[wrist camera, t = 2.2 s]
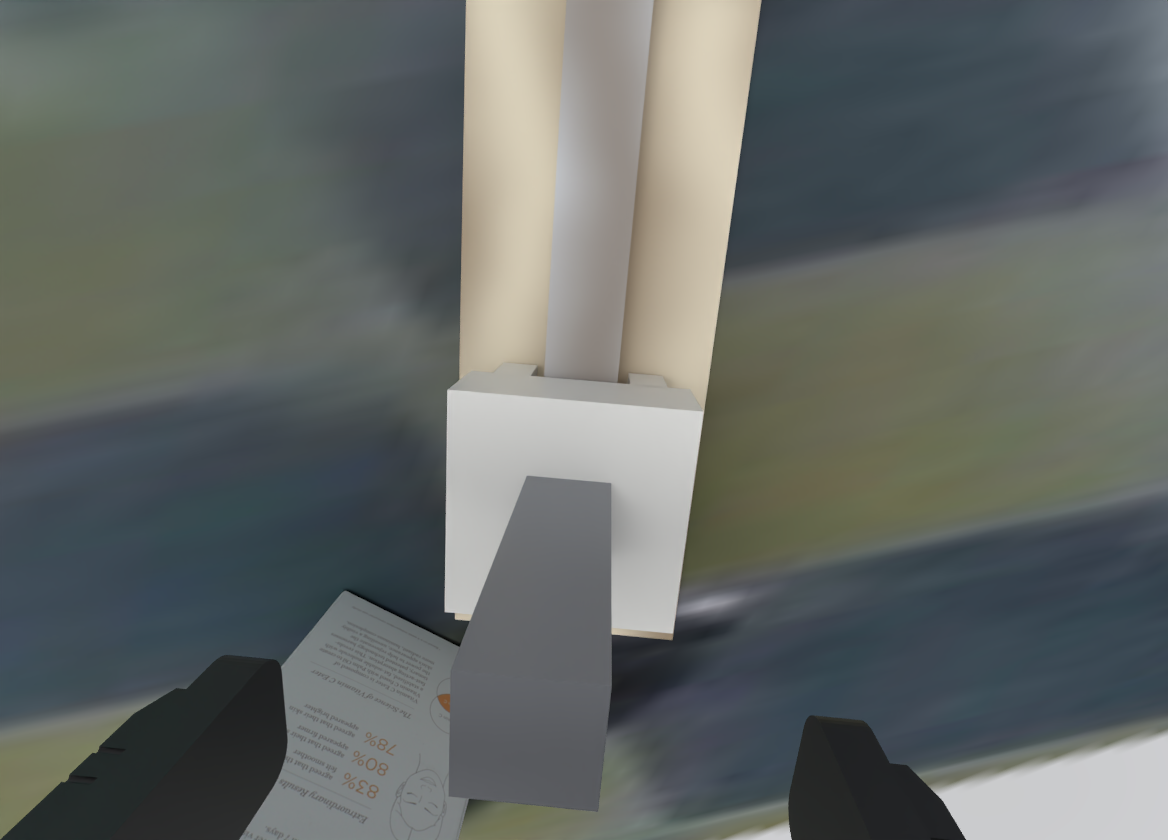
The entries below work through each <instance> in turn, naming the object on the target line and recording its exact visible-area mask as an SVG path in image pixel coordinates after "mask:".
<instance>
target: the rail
mask: <svg viewBox="0 0 1168 840" xmlns="http://www.w3.org/2000/svg"><path fill="white" fill-rule="evenodd" d="M760 6H761V0H466V37H465V92H464V147H463V202H462V256H461V311H460V366H459V380H460V379H462V378H463V377H464V376H465V375H467V374H468V373H469V372H471V371H481V372H494V371H495V370H496V369H497V368H499V367H500V366H501V365H502V364H503V363H504V362H505V363H517V364H529V365H538V370H537V376H540V377H551V378H563V379H575V380H587V381H598V382H610V383H622V384H627V383H628V373H635V374H647V375H658V376H663V378H664V380H665V382H666V384H667V387H669V388H681V389H690V390H691V392H692V394H693V395H694V397H695V398H696V400H697V402H698V403H699V405H700V407H701V408H702V410H703V411H704V409H705V402H706V395H707V387H708V380H709V373H710V366H711V359H712V351H713V344H714V337H715V330H716V323H717V316H718V308H719V301H720V294H721V287H722V280H723V272H724V265H725V258H726V251H727V244H728V236H729V229H730V222H731V215H732V208H733V200H734V193H735V186H736V179H737V172H738V165H739V157H740V150H741V143H742V136H743V129H744V121H745V114H746V107H747V100H748V93H749V85H750V78H751V71H752V64H753V57H754V49H755V42H756V35H757V28H758V21H759V14H760ZM703 416H704V413H703ZM702 423H703V420H702ZM701 431H702V427H701ZM700 438H701V435H700ZM699 445H700V442H699ZM698 452H699V449H698ZM697 459H698V456H697ZM696 467H697V463H696ZM695 474H696V471H695ZM694 481H695V478H694ZM693 488H694V485H693ZM692 495H693V492H692ZM691 502H692V499H691ZM690 510H691V507H690ZM689 517H690V514H689ZM688 524H689V521H688ZM687 531H688V528H687ZM686 538H687V535H686ZM685 546H686V543H685ZM684 553H685V550H684ZM683 560H684V557H683ZM682 567H683V564H682ZM681 574H682V571H681ZM680 582H681V579H680ZM679 589H680V586H679ZM678 596H679V593H678ZM677 603H678V600H677ZM676 610H677V607H676ZM471 617H472V615H471V614H461V613H455V619H457V620H467V621H470V619H471ZM675 618H676V615H675ZM674 625H675V622H674ZM673 632H674V629H673ZM612 634H614V635H625V636H635V637H646V638H656V639H667V640H672V639H673V634H671V633H661V632H650V631H640V630H629V629H619V628H612Z"/></svg>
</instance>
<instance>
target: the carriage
mask: <svg viewBox="0 0 1168 840" xmlns="http://www.w3.org/2000/svg"><path fill="white" fill-rule="evenodd" d="M537 370H538V365H529V364H517V363H505V362H504V363H503V364H502V365H501V366H500V367H499V368H497V369H496V370H495V371H494V372H481V371H471V372H469V373H468V374H467V375H465V376H464V377H463V378H462V379H460V380H459V381H458V382H457V383H455V384H454V385H453V386H451V387H450V388H449V389H448V390H447V466H446V545H445V612H450V613H461V614H471V615H472V617H471V619H470V622H469V625H468V627H467V630H466V632H465V635H464V637H463V640H462V642H461V645H460V648H459V650H458V653H457V655H456V658H455V660H454V663H453V665H452V668H451V676H450V737H449V797H459V798H469V799H478V800H488V801H498V802H508V803H518V804H527V805H537V806H547V807H557V808H566V809H576V810H586V811H596V812H598V807H599V798H600V789H601V780H602V770H603V761H604V752H605V743H606V733H607V724H608V715H609V706H610V696H611V687H612V628H619V629H629V630H640V631H650V632H661V633H671V634H673V629H674V622H675V615H676V607H677V600H678V593H679V586H680V579H681V571H682V564H683V557H684V550H685V543H686V535H687V528H688V521H689V514H690V507H691V499H692V492H693V485H694V478H695V471H696V463H697V456H698V449H699V442H700V435H701V427H702V420H703V413H704V411H703V410H702V408H701V407H700V405H699V403H698V402H697V400H696V398H695V397H694V395H693V394H692V392H691V390H690V389H681V388H669V387H667V384H666V382H665V380H664V378H663V376H658V375H647V374H635V373H628V383H627V384H622V383H610V382H598V381H587V380H575V379H563V378H551V377H540V376H537Z"/></svg>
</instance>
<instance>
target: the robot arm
mask: <svg viewBox="0 0 1168 840" xmlns="http://www.w3.org/2000/svg"><path fill="white" fill-rule="evenodd" d="M287 744H288V736H287V725H286V714H285V702H284V691H283V679H282V670H281V666H280V664H279V663H278V662H277V661H276V660H272V659H262V658H252V657H242V656H232V655H224V656H222V657H220V658H218V659H217V660H216V661H214V662H213V663H212V664H211V665H210V666H209V667H208V668H207V669H206V670H205V671H204V672H203V673H202V674H201V675H200V676H199V677H198V678H197V679H196V680H195V681H194V682H193V683H192V684H191V685H190V686H189V687H188V688H187V689H179V688H176V689H174V690H173V691H171V692H169V693H168V694H166V695H164V696H163V697H161V698H159V699H158V700H156V701H154V702H153V703H151V704H149V705H148V706H146V707H144V708H143V709H141V710H140V711H138V712H136V713H135V714H133V715H132V716H131V717H130V718H129V719H128V720H127V721H126V722H125V723H124V724H123V725H122V726H121V727H120V728H118V729H117V730H116V731H115V732H114V733H113V734H112V735H111V736H110V737H109V738H108V739H107V740H106V741H105V742H104V743H103V744H101V745H100V746H99V750H98V752H97V753H92V754H91V755H90V756H89V757H88V758H87V759H86V760H84V761H83V762H82V763H81V764H80V765H79V766H78V767H77V768H76V769H75V770H74V771H73V772H72V773H71V774H70V775H69V779H68V780H67V781H66V782H61V783H60V784H59V785H58V786H57V787H56V788H55V789H54V790H53V791H52V792H50V793H49V794H48V795H47V796H46V797H45V798H44V799H43V800H42V801H41V802H40V803H39V804H38V805H37V806H36V807H35V808H33V809H32V810H31V811H30V812H29V813H28V814H27V815H26V816H25V817H24V818H23V819H22V820H21V821H20V822H19V823H18V824H16V825H15V826H14V827H13V828H12V829H11V830H10V831H9V832H8V833H7V834H6V835H5V836H4V837H3V838H2V839H1V840H239V839H240V838H241V836H242V835H243V833H244V831H245V830H246V828H247V827H248V825H249V824H250V822H251V821H252V819H253V818H254V816H255V815H256V813H257V811H258V810H259V808H260V807H261V805H262V804H263V802H264V801H265V799H266V798H267V796H268V795H269V793H270V791H271V790H272V788H273V787H274V785H275V783H276V781H277V779H278V777H279V775H280V772H281V770H282V767H283V764H284V760H285V756H286V752H287ZM788 809H789V825H790V832H791V838H792V840H966V839H965V838H964V836H963V834H962V832H961V831H960V829H959V827H958V826H957V824H956V822H955V821H954V819H953V817H952V816H951V814H950V812H949V811H948V809H947V808H946V806H945V804H944V802H943V801H942V800H941V799H940V798H939V797H938V796H937V795H936V794H935V793H934V792H933V791H932V790H931V789H930V788H929V787H928V786H927V785H926V784H925V783H924V782H923V781H922V780H921V779H920V778H919V777H918V776H917V775H916V774H915V773H914V772H913V771H912V770H911V769H910V768H909V767H908V766H907V765H899V764H890V763H889V761H888V759H887V757H886V755H885V754H884V752H883V750H882V748H881V746H880V744H879V742H878V741H877V739H876V737H875V735H874V733H873V731H872V730H871V728H870V727H869V726H868V724H867V723H865V722H864V721H862V720H852V719H842V718H832V717H823V716H809V717H808V718H807V720H806V722H805V725H804V729H803V734H802V739H801V743H800V748H799V752H798V757H797V762H796V766H795V771H794V775H793V780H792V784H791V789H790V794H789V807H788Z"/></svg>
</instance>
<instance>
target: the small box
mask: <svg viewBox="0 0 1168 840" xmlns="http://www.w3.org/2000/svg"><path fill="white" fill-rule="evenodd" d="M459 648H460V647H458V646H456V645H454V644H452V643H450V642H448V641H446V640H444V639H442V638H440V637H438V636H436V635H434V634H432V633H430V632H428V631H426V630H424V629H422V628H420V627H418V626H416V625H414V624H412V623H410V622H408V621H406V620H404V619H402V618H400V617H398V616H396V615H394V614H392V613H390V612H388V611H386V610H384V609H382V608H380V607H378V606H376V605H374V604H371V603H369V602H367V601H365V600H363V599H361V598H359V597H357V596H355V595H353V594H351V593H350V592H348V591H344V592H342V593H341V595H340V596H339V597H338V598H337V599H336V601H335V602H334V603H333V604H332V605H331V607H330V608H329V609H328V610H327V612H326V613H325V614H324V615H323V617H322V618H321V619H320V620H319V621H318V623H317V624H316V625H315V627H314V628H313V629H312V630H311V631H310V632H309V634H308V635H307V636H306V637H305V638H304V640H303V641H302V642H301V643H300V644H299V646H298V647H297V648H296V649H295V651H294V652H293V653H292V654H291V655H290V657H289V658H288V659H287V660H286V662H285V663H284V664H283V665H282V667H281V670H282V679H283V691H284V702H285V714H286V725H287V736H288V744H287V752H286V756H285V760H284V764H283V767H282V770H281V772H280V775H279V777H278V779H277V781H276V783H275V785H274V787H273V788H272V790H271V791H270V793H269V795H268V796H267V798H266V799H265V801H264V802H263V804H262V805H261V807H260V808H259V810H258V811H257V813H256V815H255V816H254V818H253V819H252V821H251V822H250V824H249V825H248V827H247V828H246V830H245V831H244V833H243V835H242V836H241V838H240V839H239V840H458V838H459V834H460V830H461V826H462V822H463V819H464V815H465V811H466V807H467V803H468V799H469V798H459V797H449V737H450V676H451V668H452V665H453V663H454V660H455V658H456V655H457V653H458V650H459Z"/></svg>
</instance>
